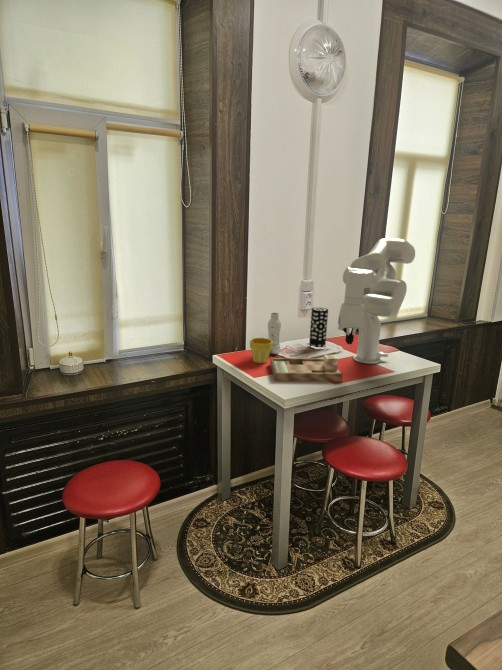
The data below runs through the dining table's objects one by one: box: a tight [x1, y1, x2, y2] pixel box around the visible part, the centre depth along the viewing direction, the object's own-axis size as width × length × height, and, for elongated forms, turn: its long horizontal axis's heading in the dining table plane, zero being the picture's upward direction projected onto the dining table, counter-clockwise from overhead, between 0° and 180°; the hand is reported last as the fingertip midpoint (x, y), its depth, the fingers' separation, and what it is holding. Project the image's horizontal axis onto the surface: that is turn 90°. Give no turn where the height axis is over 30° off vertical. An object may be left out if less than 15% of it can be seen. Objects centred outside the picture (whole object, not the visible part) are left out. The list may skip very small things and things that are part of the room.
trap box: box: [269, 357, 344, 382], centre depth 189 cm, size 28×19×3 cm
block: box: [323, 354, 339, 370], centre depth 188 cm, size 5×5×5 cm
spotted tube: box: [308, 307, 329, 348], centre depth 223 cm, size 8×8×20 cm
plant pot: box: [249, 337, 273, 364], centre depth 201 cm, size 10×10×10 cm
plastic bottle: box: [267, 312, 282, 355], centre depth 211 cm, size 6×7×20 cm
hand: (349, 343), depth 186 cm, fingers closed
